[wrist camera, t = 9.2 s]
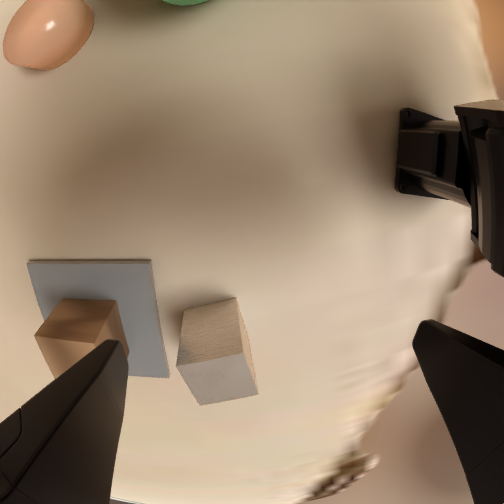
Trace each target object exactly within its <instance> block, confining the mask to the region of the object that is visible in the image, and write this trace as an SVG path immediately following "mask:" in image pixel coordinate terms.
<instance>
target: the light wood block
mask: <svg viewBox="0 0 504 504" xmlns="http://www.w3.org/2000/svg"><path fill="white" fill-rule="evenodd" d="M176 367H177V369H178V370H179V372H180V374H181V376H182V377H183V379H184V381H185V382H186V384H187V386H188V387H189V389H190V391H191V392H192V394H193V395H194V397H195V399H196V400H197V402H198V403H199V405H206V404H212V403H218V402H223V401H229V400H234V399H239V398H244V397H248V396H253V395H257V394H259V393H258V388H257V382H256V376H255V371H254V365H253V359H252V354H251V348H250V342H249V337H248V334H247V331H246V328H245V325H244V321H243V318H242V315H241V312H240V309H239V306H238V302H237V299H236V298H233V299H229V300H225V301H221V302H217V303H212V304H208V305H204V306H200V307H196V308H191V309H187V310H184V316H183V322H182V328H181V335H180V342H179V349H178V356H177V364H176Z"/></svg>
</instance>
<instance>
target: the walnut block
mask: <svg viewBox="0 0 504 504" xmlns="http://www.w3.org/2000/svg"><path fill="white" fill-rule="evenodd" d="M34 337H35V339H36V341H37V343H38V346H39V348H40V350H41V352H42V354H43V356H44V358H45V360H46V362H47V364H48V366H49V368H50V370H51V372H52V374H53V376H54V378H55V379H56V378H57V377H59V376H60V375H61V374H62V373H64V372H65V371H66V370H67V369H69V368H70V367H71V366H73V365H74V364H75V363H76V362H78V361H79V360H80V359H81V358H83V357H84V356H85V355H87V354H88V353H89V352H90V351H92V350H93V349H94V348H96V347H97V346H98V345H100V344H101V343H102V342H103V341H105V340H106V339H115V340H120V341H121V342H122V344H123V347H124V350H125V353H126V357H127V358H128V355H129V352H130V351H129V347H128V344H127V340H126V337H125V333H124V329H123V325H122V321H121V317H120V313H119V309H118V305H117V301H112V300H88V299H69V298H62V299H61V301H60V302H59V303H58V304H57V306H56V307H55V308H54V310H53V311H52V312H51V313H50V315H49V316H48V317H47V319H46V320H45V321H44V323H43V324H42V325H41V327H40V328H39V329H38V331H37V332H36V333H35V335H34Z"/></svg>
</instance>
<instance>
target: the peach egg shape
mask: <svg viewBox="0 0 504 504" xmlns="http://www.w3.org/2000/svg"><path fill="white" fill-rule="evenodd" d="M93 24H94V12H93V9H92V7H91V6H90V5H89V4H88V3H87V2H86V1H85V0H27V1H26V2H25V3H24V4H23V5H22V6H21V7H20V8H19V9H18V11H17V12H16V13H15V15H14V16H13V18H12V19H11V21H10V23H9V25H8V27H7V30H6V32H5V36H4V40H3V53H4V56H5V58H6V60H7V61H8V62H9V63H11V64H14V65H19V66H24V67H30V68H35V69H40V70H50V69H54V68H57V67H59V66H61V65H62V64H64V63H66V62H67V61H68V60H70V59H71V58H72V57H73V56H74V55H75V54H76V53H77V52H78V51H79V50H80V49H81V48H82V46H83V45H84V44H85V42H86V41H87V39H88V37H89V36H90V34H91V31H92V28H93Z"/></svg>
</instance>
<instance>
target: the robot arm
mask: <svg viewBox="0 0 504 504" xmlns="http://www.w3.org/2000/svg"><path fill="white" fill-rule="evenodd" d="M454 109H455V113H456V115H458V119H459V121H445V120H442V119H440V118H437V117H434V116H432V115H429V114H426V113H423V112H420V111H417V110H414V109H411V108H402V109H401V110H400V128H399V140H398V154H397V170H396V179H395V189H396V191H397V192H400V193H403V194H411V195H418V196H426V197H433V198H439V199H446V200H452V201H455V202H457V203H460V204H462V205H465V206H467V207H470V208H471V216H472V230H471V240H472V241H473V242H474V243H475V245H476V246H477V247H478V248H479V249H480V250H481V253H482V254H483V255H484V257H485V258H486V259H487V260H488V261H489V262H490V263H491V269H492V270H493V271H494V272H495V273H497V274H499V275H500V276H502V277H504V100H487V101H480V102H473V103H467V104H461V105H456V106H454ZM406 112H407V113H408V116H406ZM401 184H402V185H403V186H402V188H400V186H401ZM412 346H413V349H414V352H415V354H416V357H417V359H418V362H419V364H420V367H421V369H422V372H423V374H424V377H425V380H426V382H427V384H428V387H429V388H430V391H431V393H432V395H433V397H434V399H435V401H436V404H437V406H438V408H439V410H440V412H441V415H442V417H443V419H444V421H445V424H446V426H447V428H448V431H449V433H450V435H451V438H452V440H453V443H454V445H455V448H456V450H457V453H458V456H459V458H460V461H461V464H462V466H463V469H464V472H465V475H466V479H467V482H468V485H469V488H470V491H471V495H472V498H473V501H474V504H503V503H504V350H502V349H500V348H497V347H495V346H493V345H490V344H488V343H485V342H483V341H481V340H479V339H476V338H474V337H472V336H470V335H467V334H465V333H462V332H460V331H458V330H456V329H453V328H451V327H448V326H446V325H444V324H442V323H439V322H437V321H435V320H432V319H429V320H424V321H422V322H421V323H420V324H419V326H418V329H417V331H416V334H415V336H414V339H413V342H412ZM128 371H129V364H128V360H127V357H126V353H125V350H124V347H123V344H122V342H121V341H120V340H115V339H106V340H105V341H103V342H102V343H101V344H100V345H98V346H97V347H96V348H94V349H93V350H92V351H90V352H89V353H88V354H87V355H85V356H84V357H83V358H81V359H80V360H79V361H78V362H76V363H75V364H74V365H73V366H71V367H70V368H69V369H67V370H66V371H65V372H64V373H62V374H61V375H60V376H59V377H57V378H56V379H55V380H54V381H52V382H51V383H50V384H49V385H47V386H46V387H45V388H43V389H42V390H41V391H40V392H39V393H37V394H36V395H35V396H34V397H32V398H31V399H30V400H29V401H27V402H26V403H25V404H24V405H22V406H21V408H19V409H17V410H16V411H15V412H14V413H12V414H11V415H10V416H9V417H7V418H6V419H5V420H4V421H2V422H1V423H0V504H109V502H110V494H111V486H112V479H113V472H114V466H115V459H116V454H117V448H118V442H119V437H120V432H121V427H122V422H123V416H124V408H125V397H126V388H127V379H128Z"/></svg>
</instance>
